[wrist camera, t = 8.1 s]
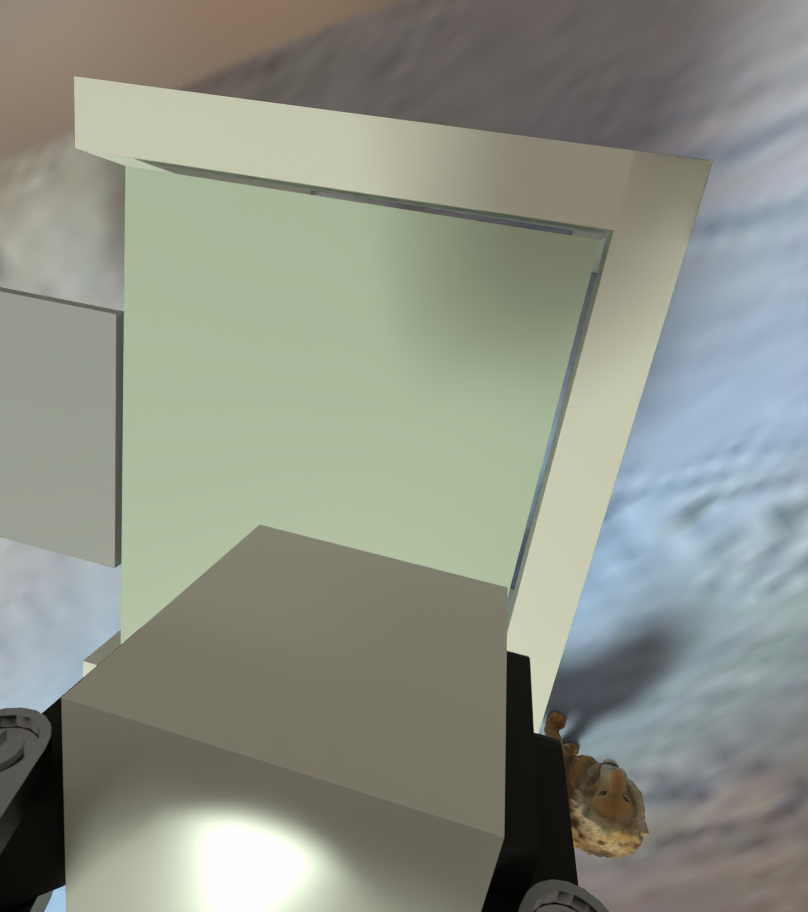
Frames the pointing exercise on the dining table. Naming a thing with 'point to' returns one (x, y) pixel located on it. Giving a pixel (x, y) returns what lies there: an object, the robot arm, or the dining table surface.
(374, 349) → the trapdoor plate
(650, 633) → the dining table surface
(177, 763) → the stone block
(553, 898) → the robot arm
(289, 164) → the trapdoor frame
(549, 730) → the lion figurine
